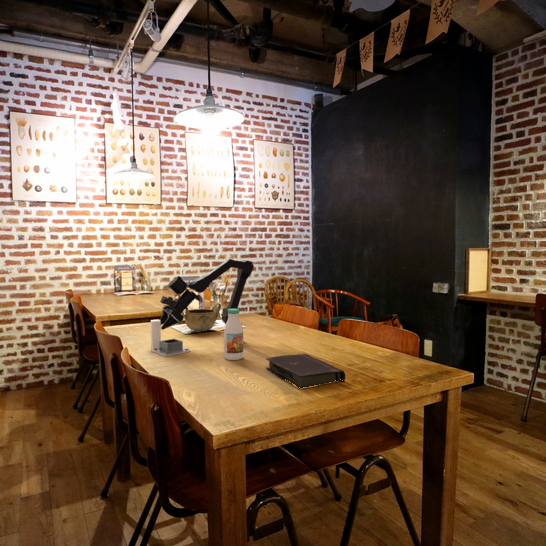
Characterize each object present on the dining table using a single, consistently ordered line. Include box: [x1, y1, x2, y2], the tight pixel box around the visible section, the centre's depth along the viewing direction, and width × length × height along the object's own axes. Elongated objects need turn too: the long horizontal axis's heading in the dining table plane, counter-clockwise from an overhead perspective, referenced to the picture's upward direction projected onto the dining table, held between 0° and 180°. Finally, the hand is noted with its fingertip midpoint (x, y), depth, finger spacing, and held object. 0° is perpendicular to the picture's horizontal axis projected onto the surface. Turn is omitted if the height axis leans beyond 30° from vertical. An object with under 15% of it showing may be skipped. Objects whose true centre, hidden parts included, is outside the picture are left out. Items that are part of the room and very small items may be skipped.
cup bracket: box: [151, 338, 191, 357], centre depth 184 cm, size 12×12×4 cm
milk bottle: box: [223, 308, 244, 361], centre depth 173 cm, size 8×8×20 cm
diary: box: [265, 353, 346, 390], centre depth 151 cm, size 19×25×5 cm
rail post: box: [150, 319, 162, 350], centre depth 190 cm, size 4×4×12 cm
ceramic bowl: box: [181, 302, 222, 333], centre depth 228 cm, size 22×17×15 cm
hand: (159, 327), depth 191 cm, fingers open, 9 cm apart
